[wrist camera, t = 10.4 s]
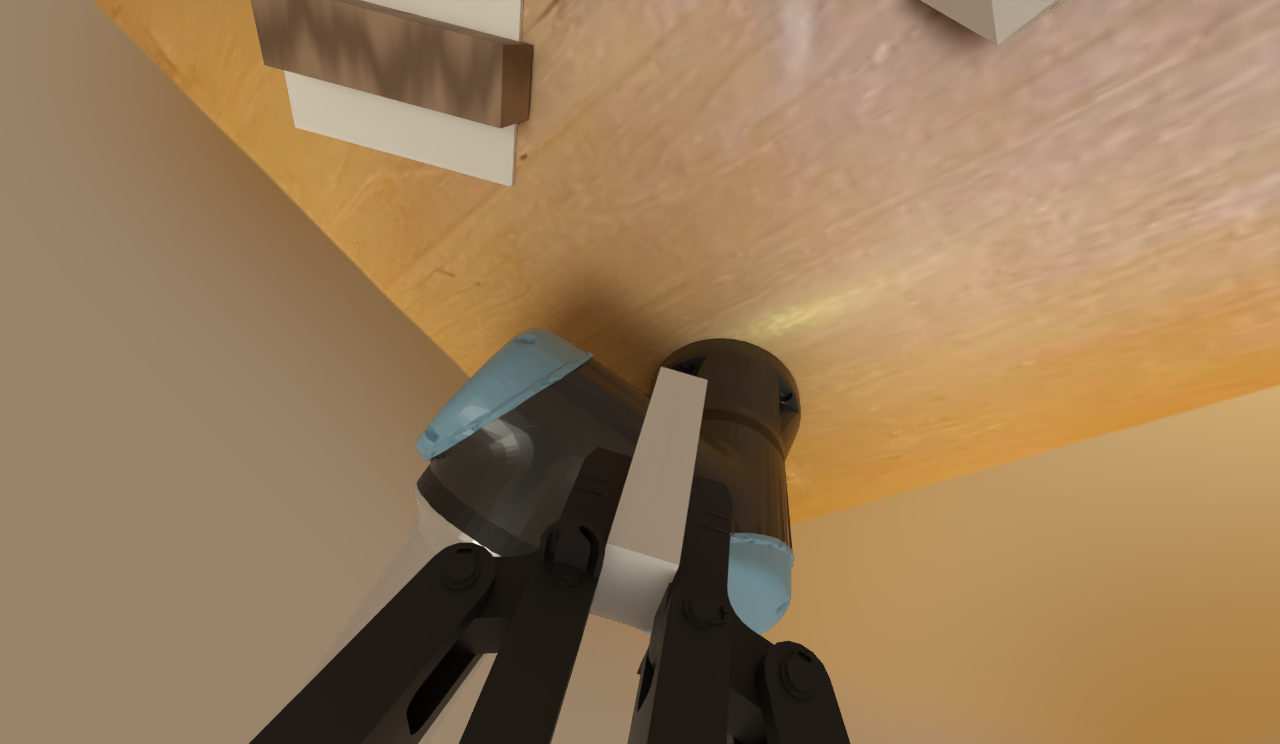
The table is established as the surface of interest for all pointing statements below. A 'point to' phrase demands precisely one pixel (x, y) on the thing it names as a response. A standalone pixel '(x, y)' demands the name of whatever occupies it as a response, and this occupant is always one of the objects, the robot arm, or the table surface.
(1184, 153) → the table surface
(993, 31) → the die
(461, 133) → the mat
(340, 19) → the walnut block
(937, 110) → the table surface
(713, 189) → the table surface
